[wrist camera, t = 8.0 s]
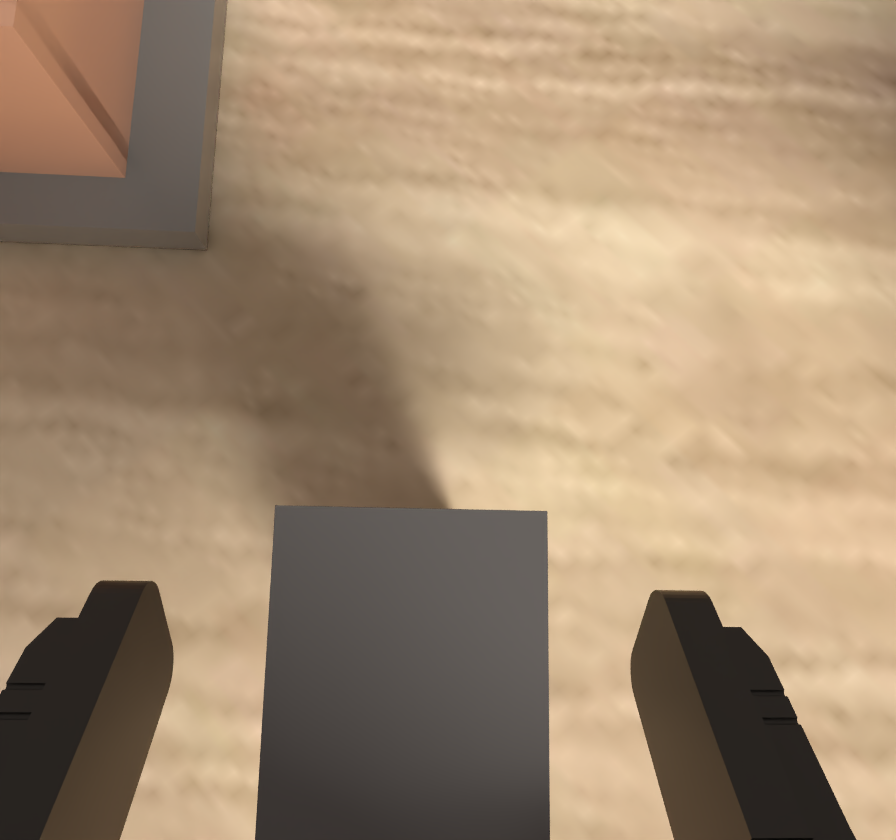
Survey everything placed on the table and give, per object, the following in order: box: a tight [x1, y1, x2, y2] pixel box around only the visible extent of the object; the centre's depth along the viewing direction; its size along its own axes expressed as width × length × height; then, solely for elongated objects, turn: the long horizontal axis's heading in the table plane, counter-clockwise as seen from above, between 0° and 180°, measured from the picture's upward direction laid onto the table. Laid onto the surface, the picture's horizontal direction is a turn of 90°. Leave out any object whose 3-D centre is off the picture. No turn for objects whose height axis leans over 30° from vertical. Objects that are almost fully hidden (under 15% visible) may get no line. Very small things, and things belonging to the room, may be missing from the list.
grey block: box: [255, 505, 550, 840], centre depth 13 cm, size 3×4×12 cm
